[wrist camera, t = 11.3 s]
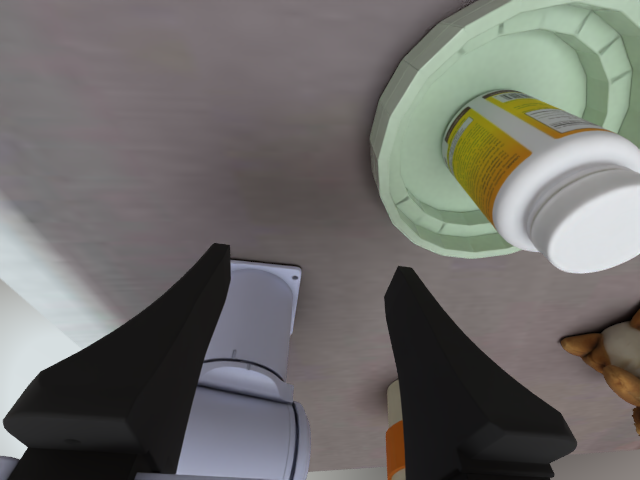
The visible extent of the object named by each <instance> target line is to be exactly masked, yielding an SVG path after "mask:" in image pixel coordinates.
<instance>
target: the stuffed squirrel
mask: <svg viewBox="0 0 640 480" xmlns="http://www.w3.org/2000/svg"><path fill="white" fill-rule="evenodd" d="M561 345H562V347H563V348H564V350H566V351H567V352H569V353H571V354H573V355H576V356H580V357H581V358H582V359H583V361H584V362H585V363H586V364H588V365H589V366H591V367H592V368H594V369H595V370H596V371H598V372H600V373H602V374H603V375H604V378H605V380H606V382H607V384H608V385H609V387H610V388H611V389H612V390H613V391H614V392H615V393H616V394H617V395H618V396H619V397H621V398H622V399H623V400H625V401H626V402H628V403H630V404H632V405H635V406H636V408H634V409H633V411H634V412H633V415H632V417H633V419H634V422H635V423H634V425H635V426H636V432H637V433H638V434H639V436H640V309H639V310H638V311H637V313H636V314H635V315H634V316H633V318H632V320H631V321H627V322H622V323H619V324H616V325H613V326H611V327H609V328H607V329H605V330H604V331H603V332H602V333H601V334H598V333H592V334H585V335H579V336H573V337H567V338H564V339H563V340H562V341H561Z"/></svg>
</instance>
